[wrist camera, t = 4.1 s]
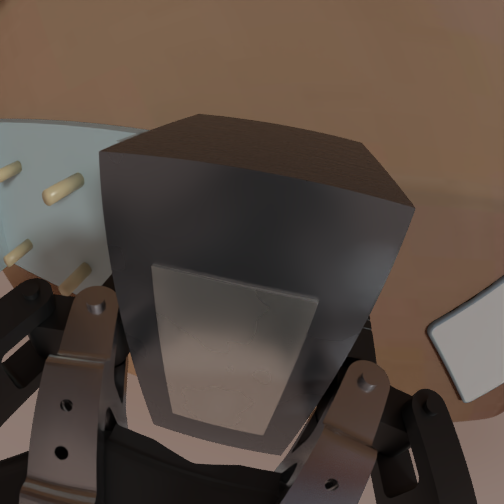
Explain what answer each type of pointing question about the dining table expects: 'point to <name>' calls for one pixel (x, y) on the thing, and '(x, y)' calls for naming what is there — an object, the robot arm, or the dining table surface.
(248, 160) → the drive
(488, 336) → the smartphone
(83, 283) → the tray
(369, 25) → the dining table surface
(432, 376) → the dining table surface
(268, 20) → the dining table surface
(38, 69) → the dining table surface
